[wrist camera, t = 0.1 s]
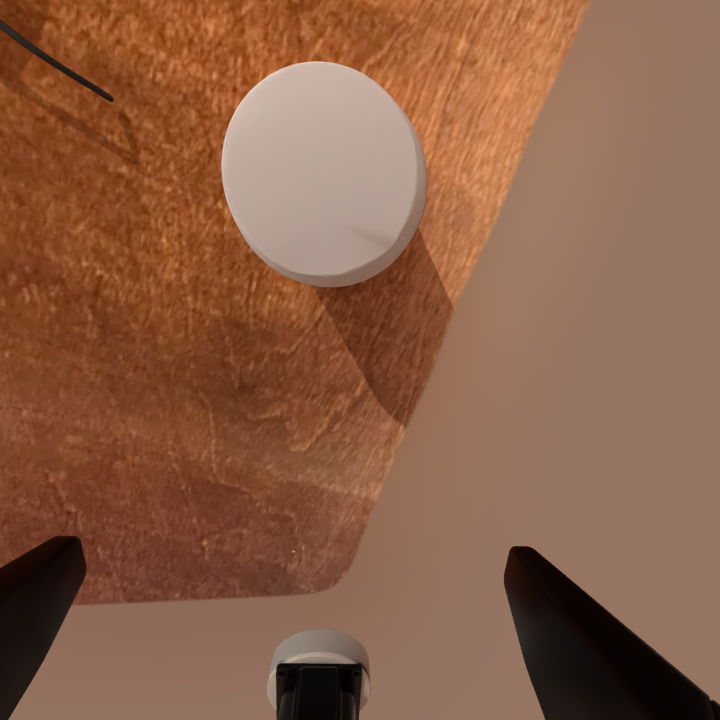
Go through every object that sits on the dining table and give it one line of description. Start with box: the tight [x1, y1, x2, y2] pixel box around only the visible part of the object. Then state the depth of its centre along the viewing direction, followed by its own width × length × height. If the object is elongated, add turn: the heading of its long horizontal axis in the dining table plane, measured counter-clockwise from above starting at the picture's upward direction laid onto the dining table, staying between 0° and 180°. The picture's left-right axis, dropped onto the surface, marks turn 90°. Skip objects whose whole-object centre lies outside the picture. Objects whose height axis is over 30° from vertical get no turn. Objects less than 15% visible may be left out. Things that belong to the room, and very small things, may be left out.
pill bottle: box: [222, 61, 427, 287], centre depth 15 cm, size 6×6×11 cm
